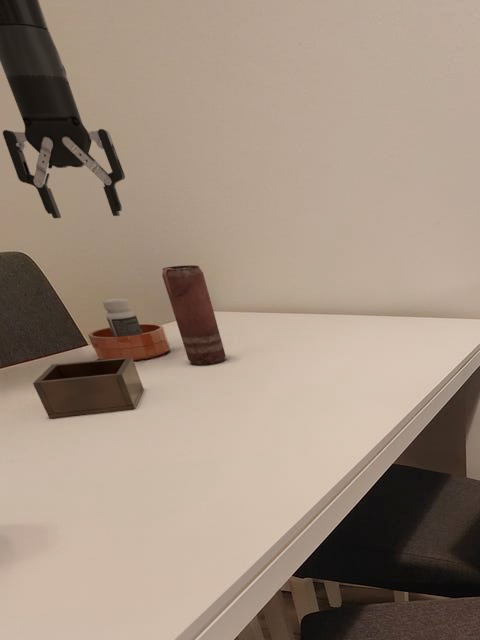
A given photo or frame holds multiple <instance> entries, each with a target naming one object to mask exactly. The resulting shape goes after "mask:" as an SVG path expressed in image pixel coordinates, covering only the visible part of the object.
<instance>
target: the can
mask: <svg viewBox="0 0 480 640" xmlns="http://www.w3.org/2000/svg"><path fill="white" fill-rule="evenodd" d="M161 275H162V279H163V282H164V287H165V289H166V292H167V296H168V298H169V301H170V305H171V308H172V311H173V315H174V318H175V322H176V325H177V327H178V331H179V334H180V337H181V341H182V344H183V347H184V350H185V353H186V356H187V360H188V361H189V362H190V364H192V365H195V366H209V365H215V364H220V363H222V362H224V361H225V359H226V352H225V348H224V344H223V341H222V337H221V333H220V329H219V327H218V322H217V319H216V316H215V312H214V307H213V304H212V301H211V297H210V293H209V290H208V286H207V282H206V279H205V275H204V272H203V271H202V269H201V268H200V266H199V265H192V264H191V265H175V266H167V267H163V268H162V274H161Z"/></svg>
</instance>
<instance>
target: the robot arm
mask: <svg viewBox="0 0 480 640" xmlns="http://www.w3.org/2000/svg"><path fill="white" fill-rule="evenodd" d="M0 64H1V67H2V69H3V72H4V76H5V77H6V80H7V82H8V86H9V88H10V90H11V93H12V96H13V98H14V101H15V104H16V106H17V108H18V111H19V114H20V116H21V119H22V122H23V125H24V132H22V131H21V132H20V131H12V130H9V129H8V130H7V129H4V130H3V131H2V136H3V139H4V141H5V144H6V147H7V150H8V152H9V156H10V159H11V162H12V165H13V167H14V170H15V172H16V173H15V174H16V176H17V179H18V180H19V181H20V182H21V183H24V184H28V185H30V186H33V187H34V188H35V189H36V190H37V192H38V195H39V198H40V201H41V203H42V204H43V208H44V209H45V211H46V213H47V214H48V215H51V217H52V218H53V219H61V218H62V216H61V213H60V210H59V207H58V205H57V203H56V200H55V197H54V195H53V191H52V189H51V188H50V187H48V186H49V185H48V184H49V180H50V177H51V174H52V172H53V169H54V167H55V168H57V169H66V168H68V167H71V168H83V167H84V166H86V168H87V169H88V170H90V172H92V173H93V174H94V175H95V176H96V177H97V178H98V179H99V180H100V181H101V182H102V183H103V185H104V186H103V191H104V194H105V196H106V199H107V202H108V205H109V208H110V210H111V214H112V216H113V217H119V216H121V214H120V212H122V204H121V201H120V197H119V194H118V192H117V188H116V184H117V183H120V182H121V181H124V180H125V178H126V176H125V175H126V174H125V172H124V169H123V167H122V163H121V162H120V158H119V156H118V153H117V151H116V148H115V145H114V143H113V140H112V137H111V135H110V132H109V131H107V130H106V129H103V128H99V129H98V130H91V131H88V130H87V129H86V127H85V126H84V123H83V121H82V118H81V115H80V112H79V109H78V106H77V103H76V101H75V98H74V93H73V91H72V89H71V86H70V83H69V79H68V76H67V71H66V69H65V66H64V64H63V62H62V59H61V55H60V53H59V51H58V49H57V47H56V44H55V42H54V39H53V37H52V34H51V32H50V31H49V26H48V24H47V20H46V18H45V14H44V12H43V9H42V6H41V3H40V0H0ZM92 141H93V142H95V143H96V146H97V147H98V148H100V149H101V150H104V154H105V156H106V159H107V162H108V164H109V166H110V169H111V172H109V173H108V172H107V170H106V169H104V168H103V166H102V165H100V163H99V162H98V161H97V160H96V159H95V158H94V157H93V156H92V155H91V154H90V153H89V152H90V149H91V146H92ZM27 142H28V144H29V145H30V146H31V147H32V148H33V149H34V150H35V151H36V152H37V153H39V154H38V157H37V162H36V166H35V167H36V169H35V173H34V175H33V174H32V173H31V172H30V168H29V166H28V162H27V160H26V156H25V154H24V151H26V150H27V145H26V143H27Z"/></svg>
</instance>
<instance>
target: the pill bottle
mask: <svg viewBox="0 0 480 640" xmlns="http://www.w3.org/2000/svg"><path fill="white" fill-rule="evenodd" d="M102 304H103V307H104V309H105V311H107V312H106V315H105V317H106V321H107V323H108V325H109V326H108V327H110V328H111V331H112V333H113V336H114V337H121V336H131V335H138V334H142V331H141V328H140V326H139V324H140V322H139V320H138V317H137V314H136V312H135V311H133V310H132V309H131V307H132V306H131V304H130V302H129V299H128V298H110V299H105V300H103V301H102Z"/></svg>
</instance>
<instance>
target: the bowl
mask: <svg viewBox="0 0 480 640" xmlns="http://www.w3.org/2000/svg"><path fill="white" fill-rule="evenodd" d="M139 326H140V328H141V331H142V334H138V335H131V336H121V337H114V336H113V333H112V331H111V328H110V326H108V327H104V328H100V329H96V330H94V331H91V332H89V333H88V338H89V340H90V342H91V346H92V348H93V351H94V353H95V356H96V358H97V359H98V360H106V359H117V358H128V357H132V358H133V361H134V362H135V361H143V360H147V359H153V358H157V357H159V356H163V355H164V354H166V353H167V352H168V351H170V350H171V345H170V343H169V340H168V336H167V333H166V331H165V327H164V326H163V325H162V324H156V323H139Z"/></svg>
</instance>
